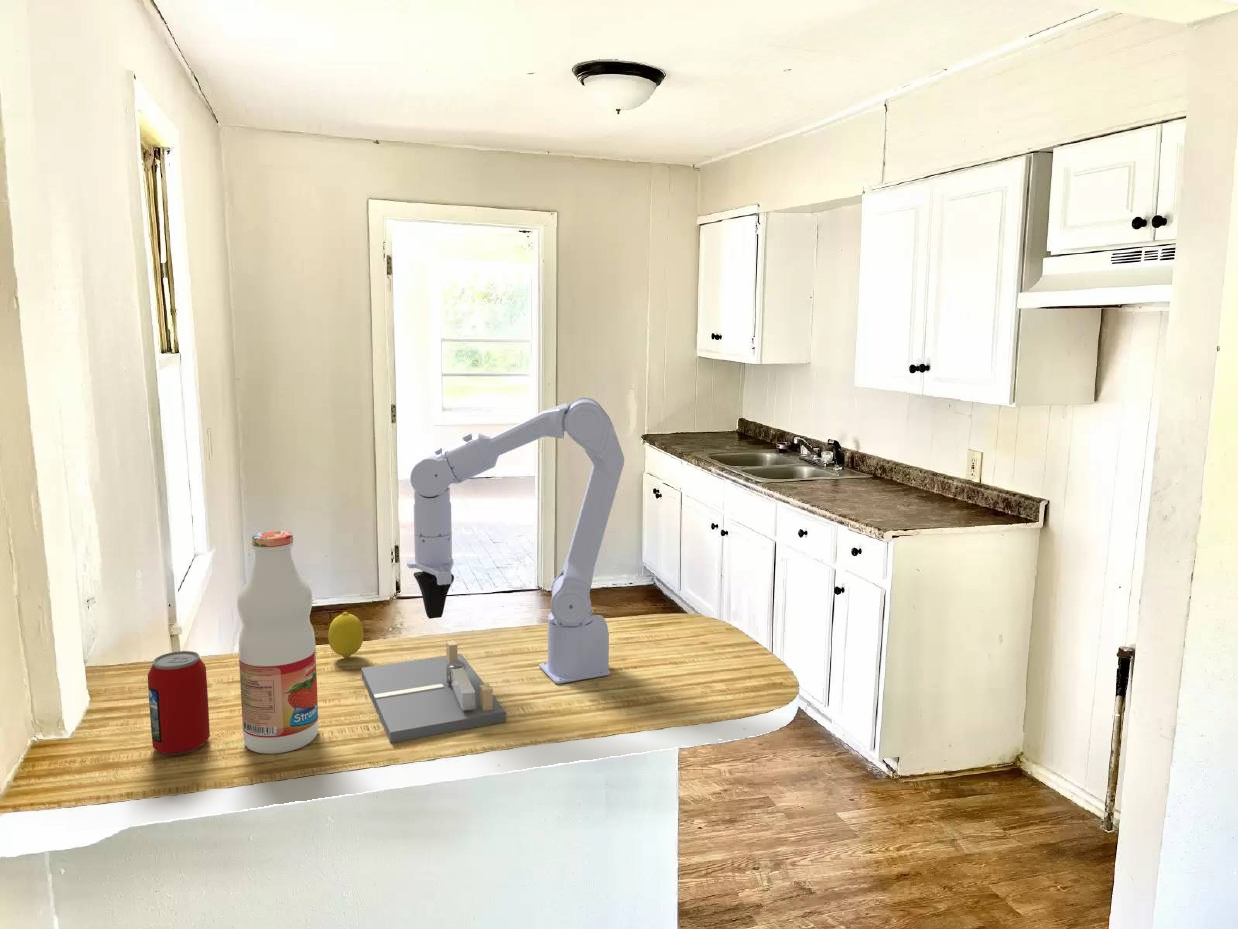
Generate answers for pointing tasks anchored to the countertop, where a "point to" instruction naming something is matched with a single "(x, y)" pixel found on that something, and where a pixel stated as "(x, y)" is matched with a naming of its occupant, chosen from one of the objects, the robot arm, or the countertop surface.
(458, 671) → the lock bar
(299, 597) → the fruit juice
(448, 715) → the plate
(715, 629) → the countertop surface
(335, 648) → the lemon
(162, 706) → the beverage can
